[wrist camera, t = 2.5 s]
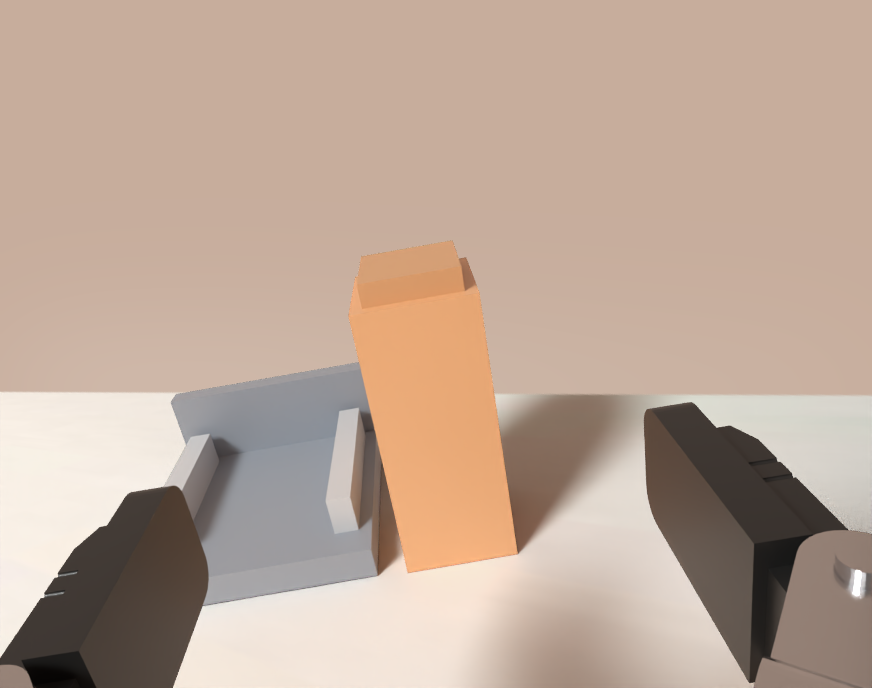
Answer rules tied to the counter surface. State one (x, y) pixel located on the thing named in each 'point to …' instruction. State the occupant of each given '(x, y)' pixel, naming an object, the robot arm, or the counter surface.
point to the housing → (281, 481)
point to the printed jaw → (433, 404)
